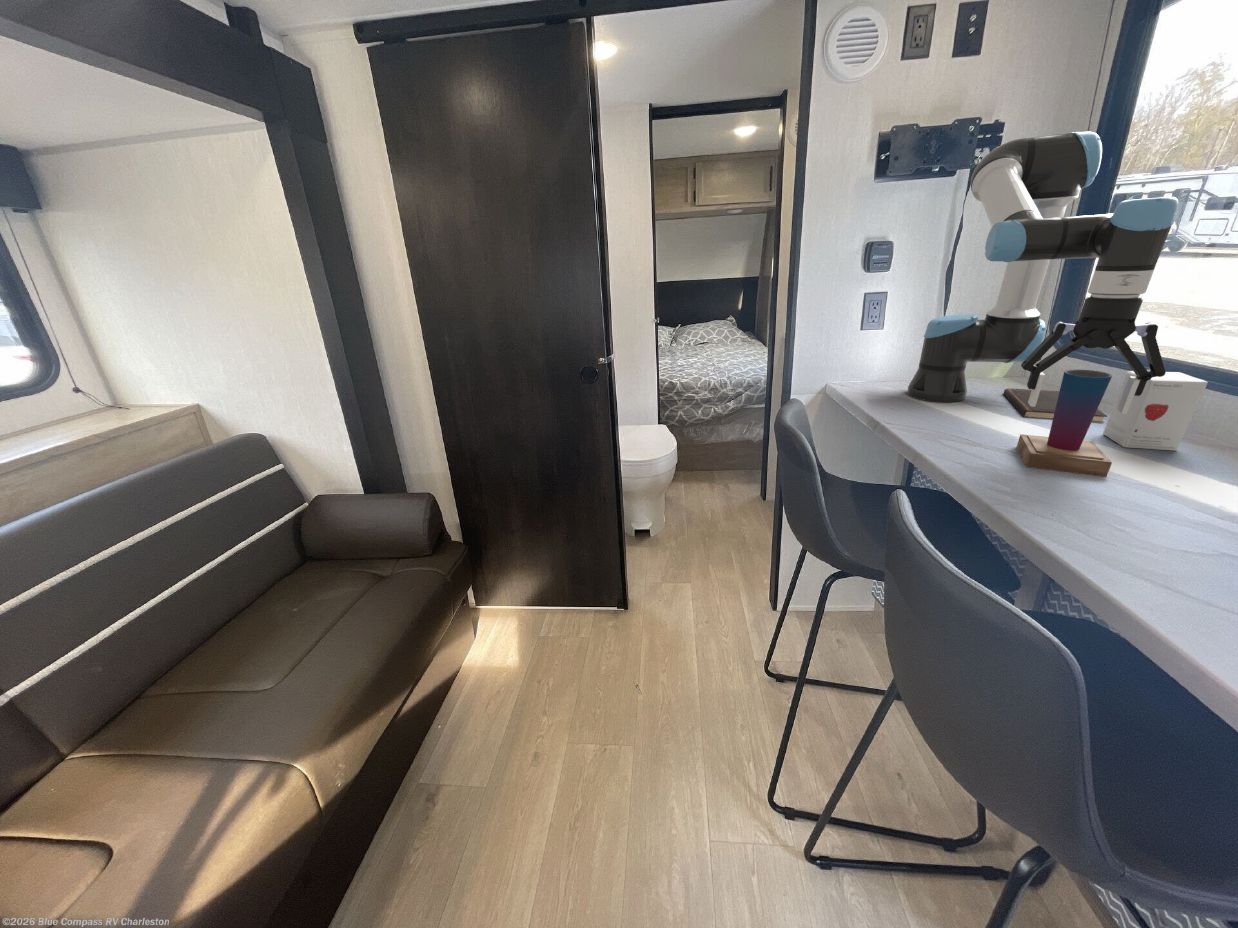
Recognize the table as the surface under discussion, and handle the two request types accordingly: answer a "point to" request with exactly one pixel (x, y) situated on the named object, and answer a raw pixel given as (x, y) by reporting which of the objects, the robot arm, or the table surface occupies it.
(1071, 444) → the cup
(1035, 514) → the table surface
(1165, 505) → the table surface
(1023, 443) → the pedestal
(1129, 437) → the supplement box
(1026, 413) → the hardcover book
